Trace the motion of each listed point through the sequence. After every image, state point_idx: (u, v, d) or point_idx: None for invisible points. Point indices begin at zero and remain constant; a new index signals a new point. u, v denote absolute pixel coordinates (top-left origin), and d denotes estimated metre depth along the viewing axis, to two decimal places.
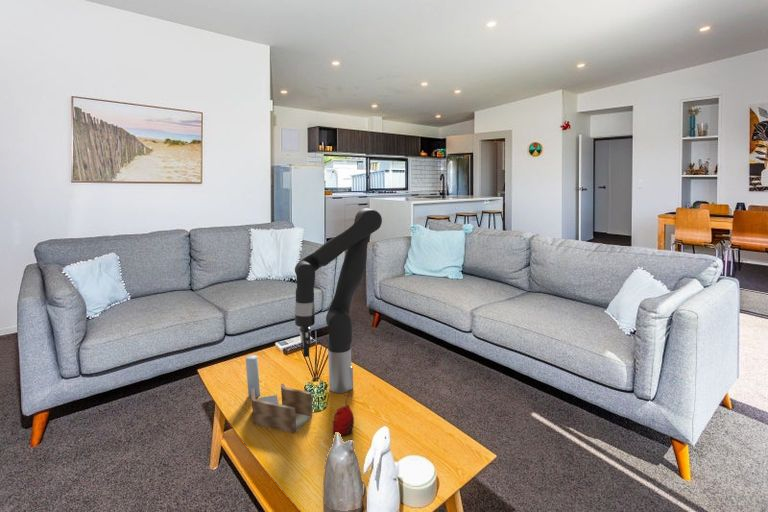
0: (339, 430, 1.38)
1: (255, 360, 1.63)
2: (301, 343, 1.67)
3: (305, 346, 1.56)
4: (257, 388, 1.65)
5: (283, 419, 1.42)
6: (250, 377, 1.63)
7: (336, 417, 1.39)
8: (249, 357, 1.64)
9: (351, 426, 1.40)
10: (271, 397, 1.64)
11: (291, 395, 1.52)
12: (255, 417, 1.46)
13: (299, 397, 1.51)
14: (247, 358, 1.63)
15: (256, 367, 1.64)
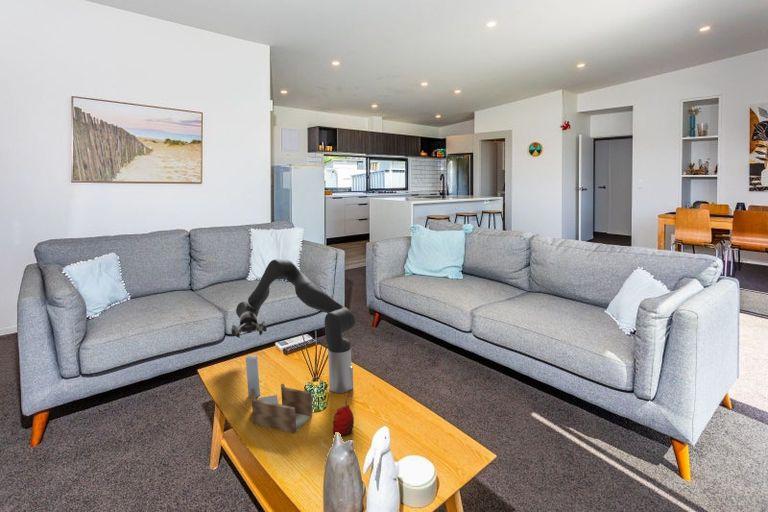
0: (339, 430, 1.38)
1: (255, 360, 1.63)
2: None
3: None
4: (257, 388, 1.65)
5: (283, 419, 1.42)
6: (250, 377, 1.63)
7: (336, 417, 1.39)
8: (249, 357, 1.64)
9: (351, 426, 1.40)
10: (271, 397, 1.64)
11: (291, 395, 1.52)
12: (255, 417, 1.46)
13: (299, 397, 1.51)
14: (247, 358, 1.63)
15: (256, 367, 1.64)
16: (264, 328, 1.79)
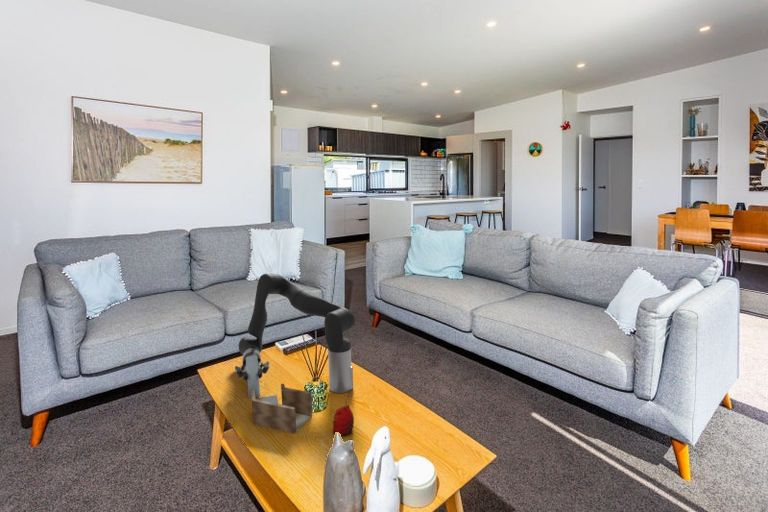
0: (339, 430, 1.38)
1: (255, 360, 1.63)
2: None
3: (239, 375, 1.66)
4: (257, 388, 1.65)
5: (283, 419, 1.42)
6: (250, 377, 1.63)
7: (336, 417, 1.39)
8: (249, 357, 1.64)
9: (351, 426, 1.40)
10: (271, 397, 1.64)
11: (291, 395, 1.52)
12: (255, 417, 1.46)
13: (299, 397, 1.51)
14: (247, 358, 1.63)
15: (256, 367, 1.64)
16: (263, 370, 1.68)
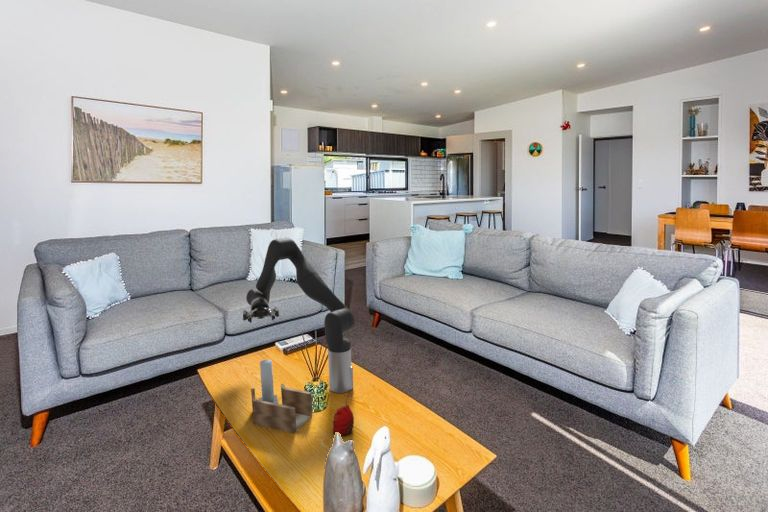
0: (339, 430, 1.38)
1: (270, 364, 1.58)
2: None
3: (243, 318, 1.69)
4: (271, 393, 1.60)
5: (283, 419, 1.42)
6: (264, 381, 1.58)
7: (336, 417, 1.39)
8: (263, 361, 1.59)
9: (351, 426, 1.40)
10: None
11: (291, 395, 1.52)
12: (255, 417, 1.46)
13: (299, 397, 1.51)
14: (261, 362, 1.58)
15: (271, 371, 1.59)
16: (276, 313, 1.73)
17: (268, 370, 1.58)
